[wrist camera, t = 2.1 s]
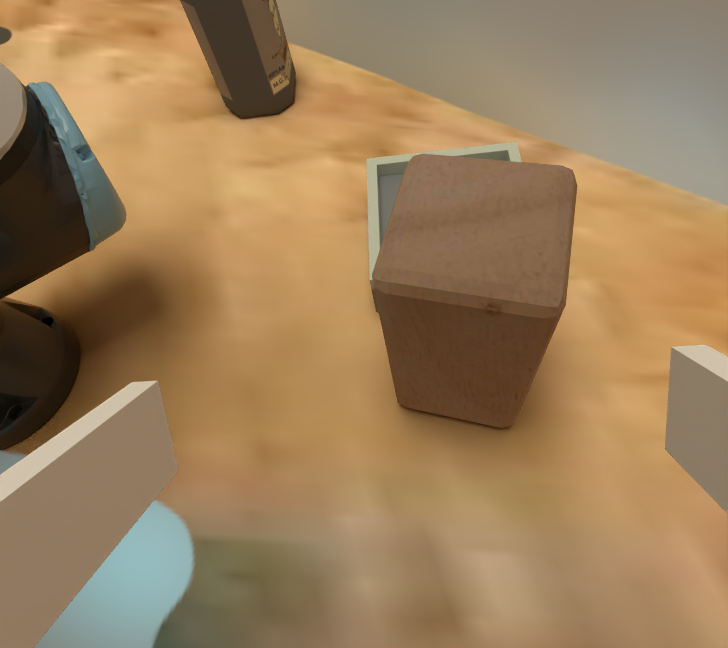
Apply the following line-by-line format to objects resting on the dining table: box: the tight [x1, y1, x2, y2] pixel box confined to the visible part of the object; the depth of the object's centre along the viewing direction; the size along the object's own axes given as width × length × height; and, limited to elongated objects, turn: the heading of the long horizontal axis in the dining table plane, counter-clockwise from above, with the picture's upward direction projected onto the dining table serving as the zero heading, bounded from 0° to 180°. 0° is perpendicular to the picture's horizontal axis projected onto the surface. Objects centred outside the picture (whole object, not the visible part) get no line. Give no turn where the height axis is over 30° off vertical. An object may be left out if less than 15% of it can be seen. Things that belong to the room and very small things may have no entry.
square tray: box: [367, 142, 521, 312], centre depth 48 cm, size 15×15×6 cm
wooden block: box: [372, 154, 577, 428], centre depth 35 cm, size 10×10×20 cm
